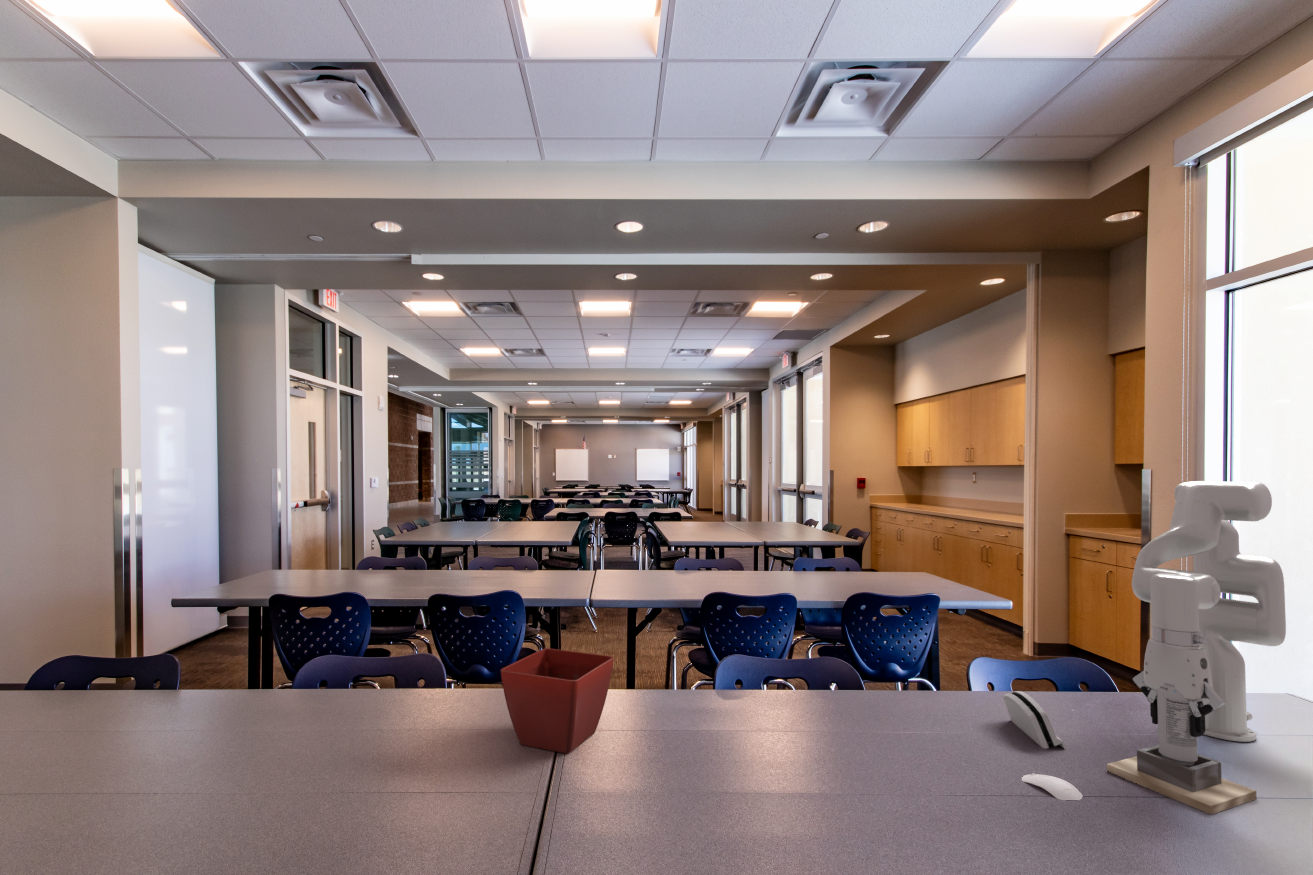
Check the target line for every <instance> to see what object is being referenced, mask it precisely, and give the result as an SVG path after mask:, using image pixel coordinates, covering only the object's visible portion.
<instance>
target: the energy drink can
mask: <svg viewBox="0 0 1313 875" xmlns="http://www.w3.org/2000/svg"><path fill="white" fill-rule="evenodd" d="M1157 707H1158V724H1157V733H1158V734H1157V742H1158V743H1157V745H1158V748H1159V752H1160V753H1161V754H1162V757H1163V758H1165V759H1167V760H1170V761H1173V762H1175V763H1178V764H1181V765H1186V766H1191V765H1194V762H1195V761H1197V760H1198V754H1199V752H1198V737H1192V736H1191V735H1190V716H1191V715H1193V712H1192V710H1191V707H1190V705H1189V703H1188V700H1187V699H1185V698H1184V696H1183V695H1182V694H1181V693H1180V692H1179V691H1178V690H1177V689H1176V688H1175V685H1171V684H1167V683H1164V685H1163V686H1161V687H1159V688H1158V689H1157Z"/></svg>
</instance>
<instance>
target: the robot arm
mask: <svg viewBox="0 0 1313 875" xmlns="http://www.w3.org/2000/svg"><path fill="white" fill-rule="evenodd" d="M1173 493H1174V494H1173V495H1174V498H1175V503H1174V507H1173V511H1172V516H1171V520H1170V525H1169V530H1167V531H1165V532H1164V533H1162V534H1161V533H1160V535H1158V536H1156V537H1154V538H1153V539H1152V540H1150V541H1149V542H1148V543H1147V544H1145V545H1144V546H1143V547H1142V548H1141V549H1140V551H1139V552H1138V554H1137V557H1136V561H1135V563H1134V564H1135V565H1134V568H1133V573H1132V578H1131V588H1132V592H1133V594H1134V595H1135V596H1136V598H1138V599H1139V600H1141V601H1142V602H1143V601H1144V602H1147V603H1150V618H1151V619H1150V622H1151V623H1150V625H1151V627H1150V628H1151V629H1150V630H1151V638H1149V639H1148V640H1147V644H1146V647H1145V648H1146V649H1145V654H1144V662H1143V670H1142V671H1141V672H1140V673H1138V674H1137V675H1135V676H1134V677H1132V681H1133V682H1134V684H1136V686H1137V687H1138V688H1139V689H1140V691H1141V692H1142V694H1143V695H1144V696H1145V697H1146V701H1147V702H1148V703H1149V709H1150V714H1149V715H1150V717H1151V723H1152V725H1153V724H1154V725H1158V707H1157V689H1158V688H1159V687H1161V686H1163V685H1164V683H1167V684H1171V685H1175V688H1176V689H1177V690H1178V691H1179V692H1180V693H1181V694H1182V695H1183V696H1184V698H1185V699H1187V700H1188V703H1189V705H1190V707H1191V710H1192V712H1193V715H1191V716H1190V735H1191V736H1192V737H1197V738H1198V737H1202V736H1208V737H1211V738H1216V739H1220V740H1225V741H1233V742H1239V743H1240V742H1241V743H1243V742H1244V743H1247V742H1249V743H1250V742H1253V741H1255V740H1257V733H1256V732H1255V731H1254V730H1253V729H1251V728H1249V727H1248V721H1251V720H1252V719H1253V715H1252V713H1250V712H1249V711H1247V688H1246V685H1247V684H1246V662H1245V660H1244V657H1243V655H1242V653H1241V652H1240V651H1239V650H1238V648H1237V647H1236V646H1235V645H1234V644H1233V643H1232V642H1240V643H1247V644H1251V645H1259V646H1266V647H1277V646H1280V645H1282V644H1283V643H1284V641H1285V639H1286V633H1287V624H1286V623H1287V618H1286V600H1285V599H1286V595H1285V594H1286V592H1285V581H1284V579H1285V578H1284V572H1283V569H1282V567H1281V565H1280V563H1279V562H1277V561H1276V559H1273V558H1271V557H1267V556H1262V555H1253V554H1241V552H1240V536H1239V535H1240V534H1239V532H1238V530H1237V529H1236V528H1235V526H1234V525H1233V524H1232V523H1231V522H1230V521H1234V522H1235V521H1238V522H1239V521H1240V522H1259V521H1261V520H1264V519H1265V518H1267V516H1269V514H1270V513H1271V509H1272V505H1273V503H1272V502H1273V499H1272V498H1273V496H1272V493H1271V491H1270V489H1269V488H1268V486H1267V485H1266V484H1264V483H1262V482H1260V481H1259V482H1257V481H1218V480H1215V481H1214V480H1213V481H1212V480H1195V481H1194V480H1193V481H1185V482H1181V483H1179V484H1177V485H1176V487H1175V488H1174V492H1173ZM1191 556H1192V558H1193V561H1192V563H1193V570H1191V571H1190V570H1181V569H1174V568H1162V567H1159V566H1161V565H1163V564H1165V563H1167V562H1170V561H1173V560H1177V559H1182V558H1183V559H1184V558H1186V557H1191ZM1221 594H1229V595H1239V596H1248V597H1253V598H1255V600H1257V602H1255V601H1253V602H1252V601H1246V600H1245V601H1244V600H1237V599H1231V598H1225V597H1224V598H1223V597H1221Z"/></svg>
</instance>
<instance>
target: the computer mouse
mask: <svg viewBox="0 0 1313 875" xmlns="http://www.w3.org/2000/svg"><path fill="white" fill-rule="evenodd" d="M1022 776H1023V777H1022ZM1022 776H1021V778H1022V779H1021V781H1022V782H1024V783H1028V784H1031V785H1034V786H1037V787H1040V788H1041V789H1044V790H1045V791H1047V792H1048V793H1049V794H1051V795H1052V796H1053V797H1054V798H1055V799H1057V800H1060V801H1065V800H1078V801H1080V800H1082V799H1083V798H1082V797H1084V796H1083V794H1082V793H1081V791H1079V789H1078V788H1076V787H1075V785H1073V784H1072V783H1070V782H1068V781H1066V780H1064V779H1062V778H1059V777H1058V776H1057V777H1055V776H1052V775H1047V774H1037V773H1033V772H1032V773H1030V774H1024V775H1022Z"/></svg>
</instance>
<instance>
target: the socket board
mask: <svg viewBox="0 0 1313 875" xmlns="http://www.w3.org/2000/svg"><path fill="white" fill-rule="evenodd" d="M1106 770H1107V771H1109V772H1108V773H1110V772H1111V773H1110V774H1112V773H1113V775H1115V774H1116V775H1115V776H1117V775H1118V777H1119V776H1121V777H1120V778H1122V777H1123V778H1122V779H1124V778H1125V780H1126V781H1129V782H1131V781H1132V782H1131V783H1134V784H1136V783H1137V785H1139V786H1142V787H1144V788H1145V789H1148V788H1149V790H1151V791H1153V790H1154V791H1153V792H1156V793H1158V792H1159V793H1158V794H1161V795H1163V796H1166V797H1167V798H1171V799H1172V800H1174V801H1177V802H1180V803H1182V804H1184V805H1187V806H1189V807H1191V808H1194V809H1196V810H1199V811H1202V812H1204V813H1206V814H1209V815H1211V816H1212V815H1214V814H1217V813H1221V812H1223V811H1226V810H1228V809H1231V808H1234V807H1237V806H1240V805H1243V804H1246V803H1249V802H1251V801H1254V800H1256V799H1257V790H1255V789H1252V788H1249V787H1247V786H1244V785H1242V784H1238V783H1236V782H1234V781H1230V780H1227V779H1225V778H1222V762H1221V761H1219V760H1215V759H1213V758H1210V757H1208V756H1204V755H1201V754H1199V753H1198V760H1197V761H1195V762H1194V765H1191V766H1186V765H1181V764H1178V763H1175V762H1173V761H1170V760H1167V759H1165V758H1163V757H1162V754H1161V753H1160V752H1159V748H1158V744H1155V745H1151V746H1148V747H1143V748H1139V749H1136V756H1135V755H1134V756H1132V757H1128V758H1124V759H1121V760H1120V759H1119V760H1117V761H1113V762H1108V763H1107V764H1106ZM1107 771H1106V772H1107Z"/></svg>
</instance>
